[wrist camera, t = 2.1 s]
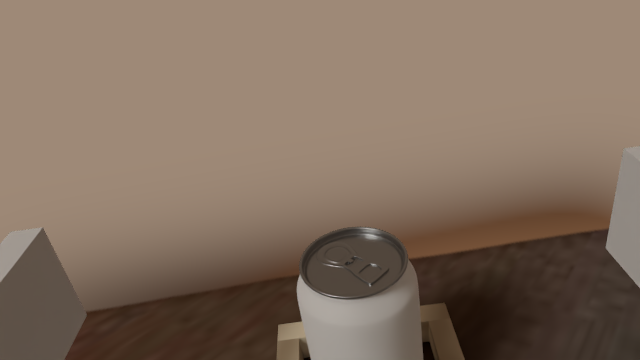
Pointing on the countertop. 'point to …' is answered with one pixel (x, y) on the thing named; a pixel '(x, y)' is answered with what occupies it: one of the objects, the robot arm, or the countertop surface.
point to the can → (359, 297)
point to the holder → (432, 326)
